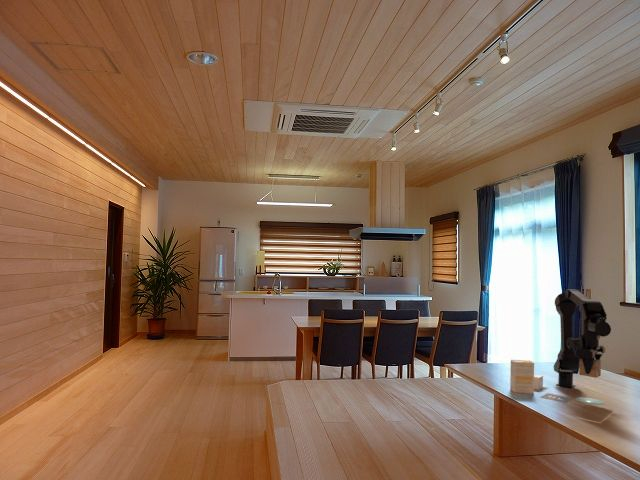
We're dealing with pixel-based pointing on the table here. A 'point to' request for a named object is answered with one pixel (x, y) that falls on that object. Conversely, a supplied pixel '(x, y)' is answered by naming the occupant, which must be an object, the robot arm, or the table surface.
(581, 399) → the pale green disc
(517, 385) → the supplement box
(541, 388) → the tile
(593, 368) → the walnut block
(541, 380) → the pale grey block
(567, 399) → the tile
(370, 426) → the table surface
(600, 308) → the robot arm
